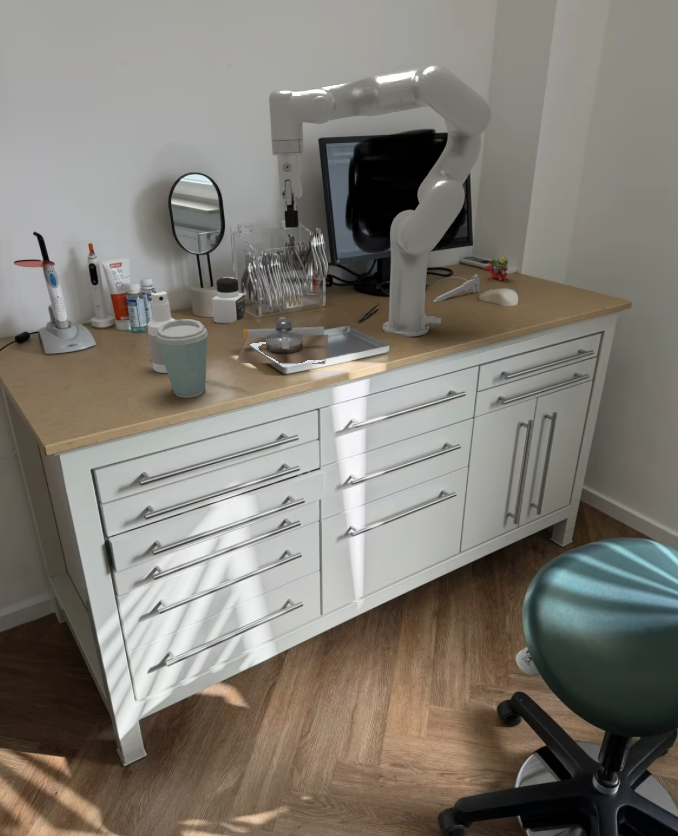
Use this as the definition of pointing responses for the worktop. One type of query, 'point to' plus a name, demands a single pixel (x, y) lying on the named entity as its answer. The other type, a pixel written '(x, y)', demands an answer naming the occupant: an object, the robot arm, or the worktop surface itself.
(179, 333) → the disposable coffee cup
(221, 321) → the medicine bottle
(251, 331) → the capstan dial
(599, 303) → the worktop surface
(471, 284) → the caliper
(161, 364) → the spray bottle
